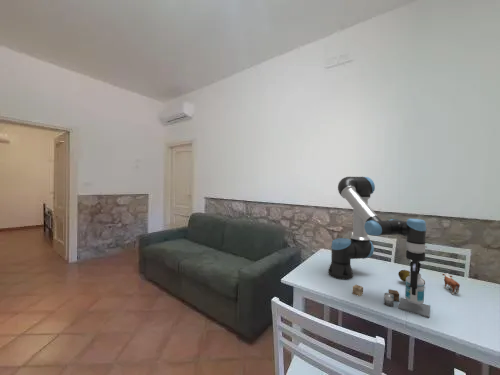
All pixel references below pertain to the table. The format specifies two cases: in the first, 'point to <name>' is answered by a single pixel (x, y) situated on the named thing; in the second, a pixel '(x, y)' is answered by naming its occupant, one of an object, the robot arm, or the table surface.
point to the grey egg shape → (389, 299)
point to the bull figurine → (451, 283)
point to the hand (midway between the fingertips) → (414, 297)
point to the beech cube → (357, 290)
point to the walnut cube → (395, 294)
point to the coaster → (414, 308)
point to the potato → (405, 275)
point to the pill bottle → (419, 293)
